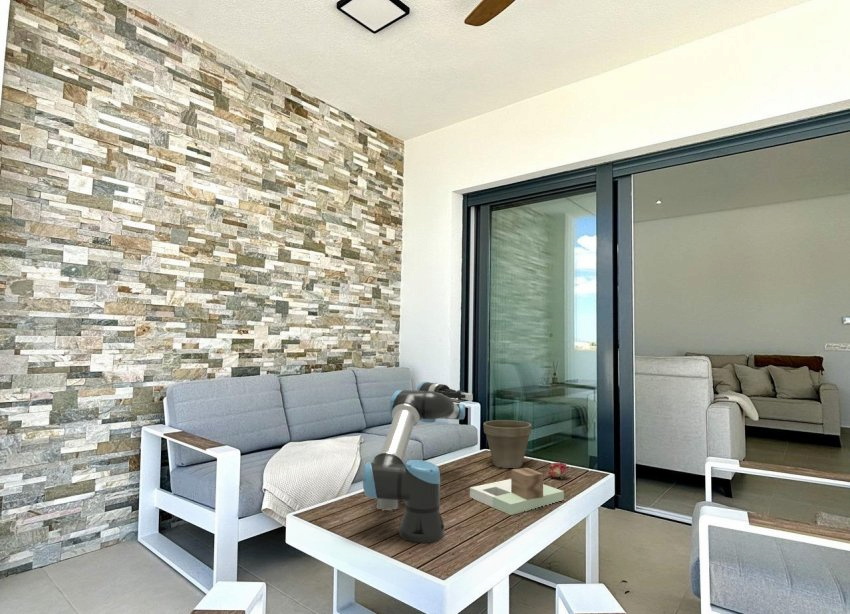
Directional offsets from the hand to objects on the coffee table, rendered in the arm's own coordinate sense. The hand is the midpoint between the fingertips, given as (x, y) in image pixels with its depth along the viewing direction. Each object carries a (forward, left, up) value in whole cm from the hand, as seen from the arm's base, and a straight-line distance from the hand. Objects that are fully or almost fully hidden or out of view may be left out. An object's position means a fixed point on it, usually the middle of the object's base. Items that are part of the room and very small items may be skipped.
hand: (471, 397), depth 214 cm
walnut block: (+6, -27, -36) cm, 46 cm away
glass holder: (-39, 0, -40) cm, 56 cm away
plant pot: (+43, +22, -40) cm, 63 cm away
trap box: (+8, -20, -40) cm, 45 cm away
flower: (+47, -8, -40) cm, 62 cm away
